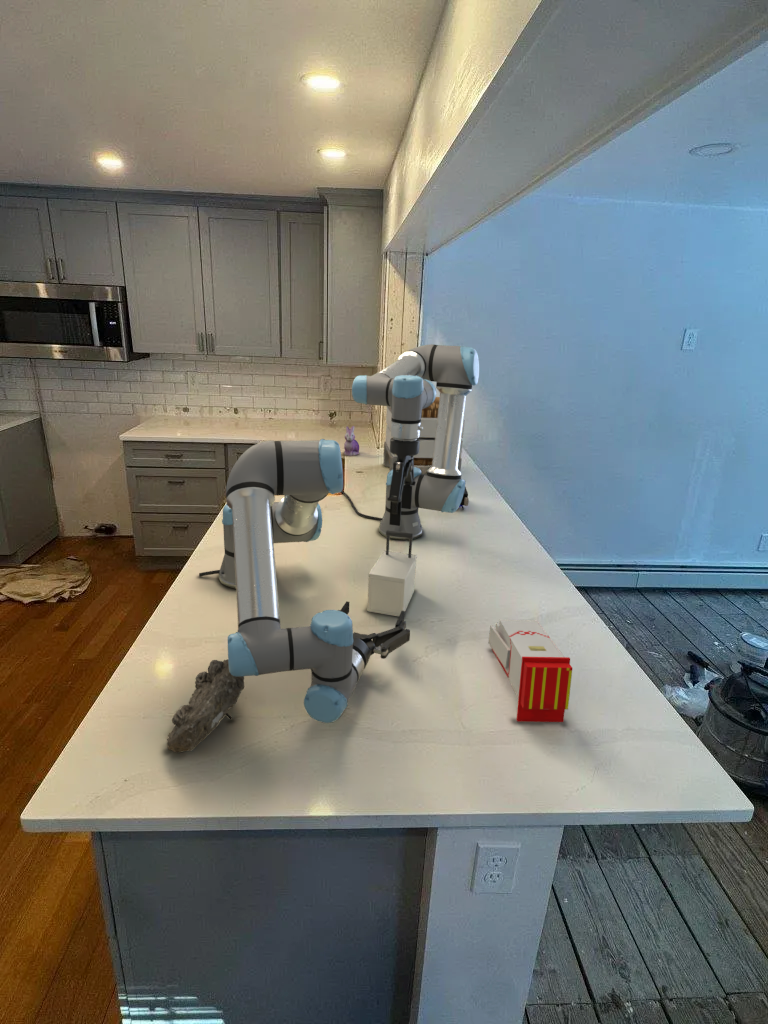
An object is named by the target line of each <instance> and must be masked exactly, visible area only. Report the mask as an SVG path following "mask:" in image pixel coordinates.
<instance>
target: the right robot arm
mask: <svg viewBox="0 0 768 1024" xmlns="http://www.w3.org/2000/svg"><path fill="white" fill-rule="evenodd" d="M479 378H480V359H479V354H478V352H477V350H476V349H475V348H474V347H470V346H464V345H446V344H445V345H444V344H443V345H442V344H432V343H431V344H424V345H420V346H416V347H413V348H410V349H408V350H406V351H404V352H402V353H401V354H400V355H399V356H398V358H397V359H396V360H395V361H394V362H392V363H391V364H389V365H388V366H386V367H384V368H383V369H381V370H379V371H378V372H376V373H374V374H372V375H367V374H365V375H356V376H355V378H354V379H353V382H352V385H351V396H352V399H353V401H354V402H355V403H357V404H362V405H370V406H379V407H381V406H382V407H387V406H391V407H392V417H391V432H390V436H391V437H392V438H391V439H390V452H391V453H392V454H395V455H397V461H395V462H394V463H393V470H391V471H390V470H389V472H388V473H387V475H386V482H385V504H384V505H385V507H384V508H385V509H384V513H383V515H382V517H378V516H373V515H367V514H363V513H361V512H359V511H358V509H357V507H356V505H355V504H354V503H353V501H352V499H351V498H350V496H349V495H348V494H347V493H346V492H345V491H343V490H342V491H341V492H340V493H341V494H342V495H344V496H345V497H346V499H347V500H348V503H350V505H351V507H352V509H353V510H354V512H355V514H357V515H358V516H360V517H362V518H365V519H366V518H367V519H371V520H377V521H381V522H379V526H378V533H379V534H380V535H381V536H382V537H385V538H387V535H386V531H387V530H390V531H398V532H405V533H413V539H412V540H415V539H418V538H420V537H421V536H422V535H423V525H422V524H421V518H420V515H419V509H424V510H430V511H435V512H436V511H437V512H441V513H450V514H453V513H456V512H457V511H458V509H459V508H460V507H459V506H460V503H461V501H462V498H463V494H464V490H465V487H466V480H465V479H464V478H462V473H461V472H462V471H461V472H460V471H459V470H458V460H459V452H460V444H461V440H462V438H461V435H462V427H463V419H464V420H465V418H464V417H465V411H466V400H467V395H468V394H470V393H471V392H472V391H473V386H477V385H478V384H479ZM433 382H435V385H434V383H433ZM437 391H438V392H439V397H440V398H439V407H438V416H437V425H436V434H435V443H434V452H433V461H432V465H430V466H429V468H428V469H427V470H426V474H425V473H422V469H421V468H419V467H417V466H414V460H413V458H414V455H417V454H418V453H419V444H420V441H419V439H418V438H419V437H420V430H423V427H422V426H420V424H421V412H422V409H424V408H427V407H428V406H430V405H431V404H432V403H433V402H434V400H435V398H436V397H437ZM390 540H395V541H409V538H401V537H394V536H390Z"/></svg>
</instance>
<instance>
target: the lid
mask: <svg viewBox="0 0 768 1024" xmlns="http://www.w3.org/2000/svg"><path fill="white" fill-rule="evenodd" d="M386 535H387V537H386V540H385V541H386V542H385V546H386V547H385V549H384V550H383V551H382V552H381V554H380V556H379V557H378V559H377V560H376V562H375V563H374V565H373V566H372V568H371V569H370V571H369V573H368V579H369V578H375V579H382V580H388V581H395V582H401V583H405V581H406V579H407V577H408V575H409V573H410V571H411V569H412V567H413V565H414V563H415V561H416V562H417V558H418V554H413V553H412V549H413V540H414V539H413V533H405V532H398V531H390V530H387V531H386ZM390 536H394V537H401V538H409V540H408V553H405V552H399V551H392V550H390V540H391V539H390Z"/></svg>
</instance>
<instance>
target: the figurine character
mask: <svg viewBox="0 0 768 1024" xmlns="http://www.w3.org/2000/svg"><path fill="white" fill-rule="evenodd" d="M469 502H470V501H469V492H468V490H467V487H466V486H465V490H464V494H463V498H462V501H461V503H460V506H459V508H461V510H462V511H464V510H465V507H468V506H469Z"/></svg>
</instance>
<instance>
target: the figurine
mask: <svg viewBox="0 0 768 1024" xmlns="http://www.w3.org/2000/svg"><path fill="white" fill-rule="evenodd" d="M354 431H355V425H352V426H351V427H349V426H346V427H345V434H344V440H345V442H344V443H343V444H344V445H343V448H344V451H343V454H344V456H356V455H359V453H360V444H359V442H358V441H357V440H356V435H355V433H354Z"/></svg>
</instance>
